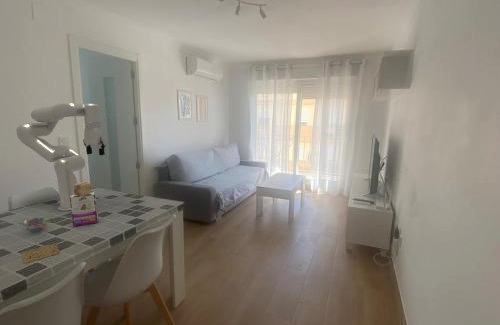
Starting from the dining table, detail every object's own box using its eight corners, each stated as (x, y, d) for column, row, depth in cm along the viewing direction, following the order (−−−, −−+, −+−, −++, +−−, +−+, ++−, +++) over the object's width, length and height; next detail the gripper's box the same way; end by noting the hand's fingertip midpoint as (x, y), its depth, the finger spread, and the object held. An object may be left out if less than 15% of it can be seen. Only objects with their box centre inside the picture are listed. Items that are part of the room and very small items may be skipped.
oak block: (74, 194, 133) (73, 184, 132) (83, 191, 138) (83, 182, 137) (82, 195, 131) (81, 185, 130) (91, 193, 136) (90, 183, 136)
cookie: (20, 253, 107) (20, 251, 107) (56, 244, 116) (55, 242, 116) (23, 265, 99) (22, 263, 99) (61, 254, 108) (61, 252, 107)
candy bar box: (98, 219, 142) (95, 191, 139) (97, 223, 138) (95, 193, 135) (74, 223, 137) (70, 193, 134) (72, 226, 133) (69, 196, 130)
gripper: (76, 125, 148) (78, 154, 151) (98, 126, 142) (101, 156, 145) (87, 124, 155) (90, 152, 158) (110, 125, 149) (112, 154, 152)
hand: (95, 154), depth 151 cm, fingers open, 9 cm apart
